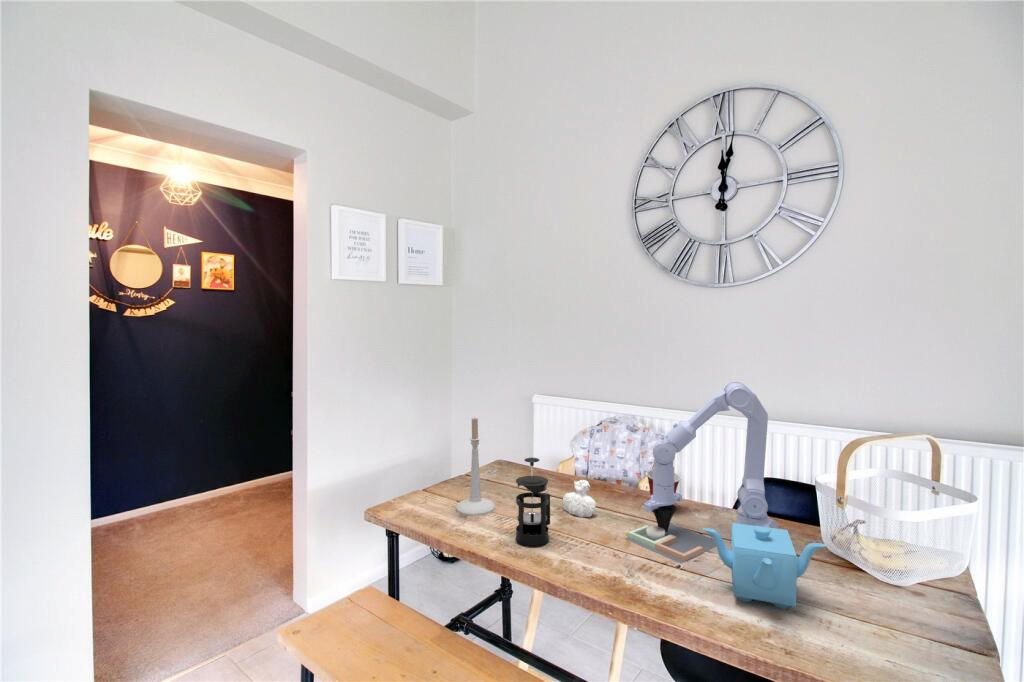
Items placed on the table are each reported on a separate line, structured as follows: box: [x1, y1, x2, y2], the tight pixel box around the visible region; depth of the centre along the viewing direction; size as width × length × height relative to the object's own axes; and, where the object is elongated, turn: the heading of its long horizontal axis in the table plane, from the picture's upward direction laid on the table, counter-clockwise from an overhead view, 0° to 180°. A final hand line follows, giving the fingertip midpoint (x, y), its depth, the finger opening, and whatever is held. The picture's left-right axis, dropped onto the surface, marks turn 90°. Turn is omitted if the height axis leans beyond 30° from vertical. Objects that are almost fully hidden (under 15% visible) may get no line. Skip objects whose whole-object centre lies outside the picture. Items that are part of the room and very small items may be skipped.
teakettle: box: [701, 522, 828, 610], centre depth 113 cm, size 19×19×15 cm
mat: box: [624, 522, 717, 564], centre depth 139 cm, size 18×19×1 cm
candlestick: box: [455, 417, 496, 517], centre depth 166 cm, size 13×13×30 cm
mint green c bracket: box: [627, 524, 673, 549], centre depth 141 cm, size 9×8×1 cm
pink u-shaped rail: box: [655, 536, 703, 563], centre depth 133 cm, size 9×8×1 cm
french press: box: [515, 457, 551, 549], centre depth 142 cm, size 12×9×23 cm
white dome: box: [646, 525, 665, 541], centre depth 142 cm, size 5×5×2 cm
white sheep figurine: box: [562, 479, 597, 518], centre depth 162 cm, size 12×8×11 cm
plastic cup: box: [645, 469, 682, 496], centre depth 162 cm, size 11×11×12 cm
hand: (663, 530), depth 144 cm, fingers closed
